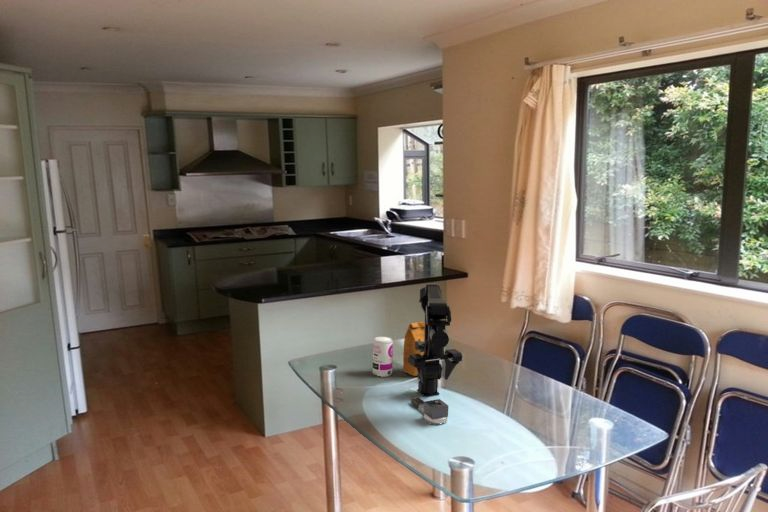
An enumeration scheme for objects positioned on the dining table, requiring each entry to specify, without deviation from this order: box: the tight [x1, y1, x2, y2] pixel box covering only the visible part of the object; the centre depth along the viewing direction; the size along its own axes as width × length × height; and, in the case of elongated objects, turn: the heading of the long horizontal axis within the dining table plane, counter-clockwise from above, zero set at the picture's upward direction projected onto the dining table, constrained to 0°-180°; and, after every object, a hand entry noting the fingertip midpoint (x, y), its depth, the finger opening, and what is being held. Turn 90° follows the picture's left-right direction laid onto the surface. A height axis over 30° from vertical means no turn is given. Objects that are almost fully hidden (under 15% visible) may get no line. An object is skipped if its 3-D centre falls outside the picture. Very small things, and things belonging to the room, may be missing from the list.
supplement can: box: [372, 336, 394, 378], centre depth 243 cm, size 8×8×15 cm
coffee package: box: [402, 321, 424, 377], centre depth 245 cm, size 10×12×22 cm
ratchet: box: [410, 397, 449, 425], centre depth 206 cm, size 8×20×6 cm, turn 24°
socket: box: [423, 398, 449, 420], centre depth 200 cm, size 6×6×4 cm
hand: (434, 381), depth 205 cm, fingers open, 9 cm apart
